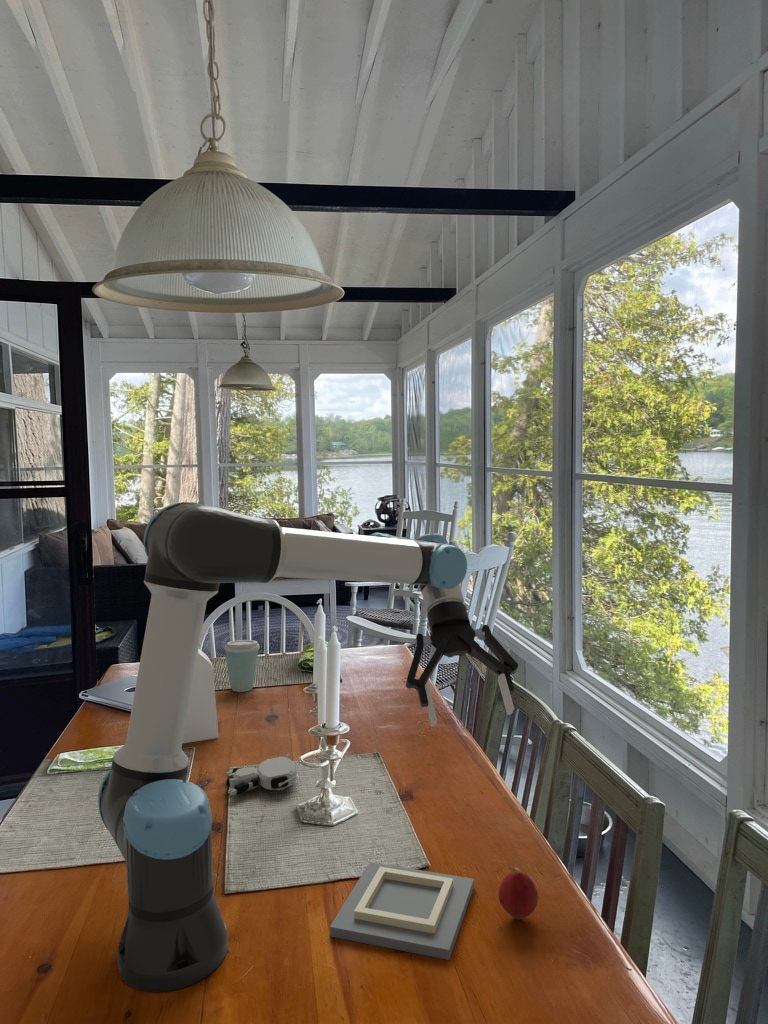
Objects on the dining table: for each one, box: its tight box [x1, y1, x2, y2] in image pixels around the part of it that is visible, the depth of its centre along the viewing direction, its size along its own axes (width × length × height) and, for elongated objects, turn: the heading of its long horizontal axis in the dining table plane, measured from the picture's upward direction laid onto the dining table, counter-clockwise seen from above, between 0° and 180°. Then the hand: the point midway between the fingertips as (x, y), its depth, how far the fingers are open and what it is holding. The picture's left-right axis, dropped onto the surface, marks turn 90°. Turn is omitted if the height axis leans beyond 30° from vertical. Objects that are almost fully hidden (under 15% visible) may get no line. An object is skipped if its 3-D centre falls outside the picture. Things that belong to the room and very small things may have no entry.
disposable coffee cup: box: [223, 639, 261, 693], centre depth 225 cm, size 11×11×15 cm
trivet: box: [329, 861, 475, 961], centre depth 114 cm, size 18×18×3 cm
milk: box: [182, 648, 220, 744], centre depth 189 cm, size 12×12×26 cm
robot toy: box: [225, 753, 298, 796], centre depth 158 cm, size 12×4×15 cm
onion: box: [498, 867, 539, 920], centre depth 111 cm, size 6×6×8 cm
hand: (472, 717), depth 126 cm, fingers open, 13 cm apart
